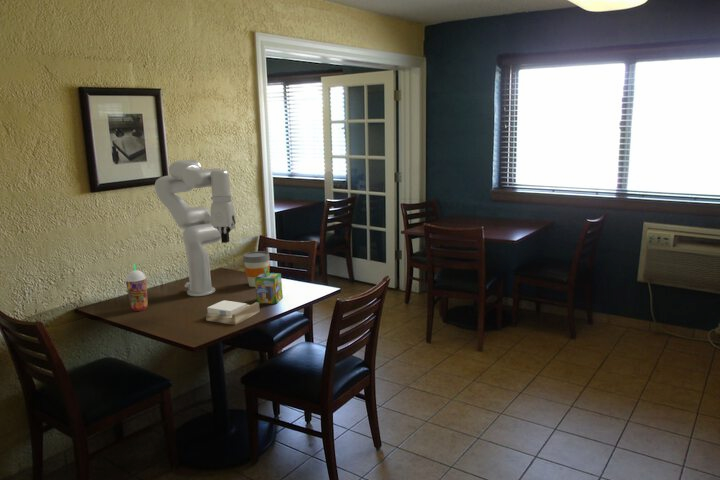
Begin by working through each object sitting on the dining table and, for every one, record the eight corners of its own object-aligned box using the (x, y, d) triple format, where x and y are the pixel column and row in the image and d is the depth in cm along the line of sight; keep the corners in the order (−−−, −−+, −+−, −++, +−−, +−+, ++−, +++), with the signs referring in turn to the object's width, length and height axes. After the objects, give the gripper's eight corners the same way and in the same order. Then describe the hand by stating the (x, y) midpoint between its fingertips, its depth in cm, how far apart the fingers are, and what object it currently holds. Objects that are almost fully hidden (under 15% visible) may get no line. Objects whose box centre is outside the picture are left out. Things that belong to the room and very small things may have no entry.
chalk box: (276, 304, 246) (274, 271, 243) (256, 303, 248) (253, 270, 245) (283, 297, 255) (281, 265, 252) (264, 297, 256) (261, 265, 253)
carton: (208, 319, 231) (207, 307, 230) (225, 311, 240) (224, 300, 239) (231, 323, 226) (230, 311, 225) (247, 315, 235) (246, 303, 233)
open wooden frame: (206, 320, 229) (205, 311, 228) (231, 308, 243) (230, 299, 242) (236, 324, 223) (235, 315, 222) (259, 311, 237) (258, 302, 236)
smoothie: (130, 313, 241) (124, 267, 237) (128, 308, 248) (122, 263, 244) (151, 309, 245) (145, 264, 241) (148, 304, 252) (143, 260, 248)
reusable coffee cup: (250, 289, 269) (247, 258, 266) (241, 283, 279) (239, 253, 276) (275, 285, 275) (273, 254, 272) (266, 279, 286) (263, 249, 282)
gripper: (201, 200, 241) (205, 243, 245) (230, 201, 234) (234, 245, 238) (213, 197, 247) (217, 239, 251) (241, 198, 241) (245, 241, 245)
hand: (225, 242), depth 245 cm, fingers closed
